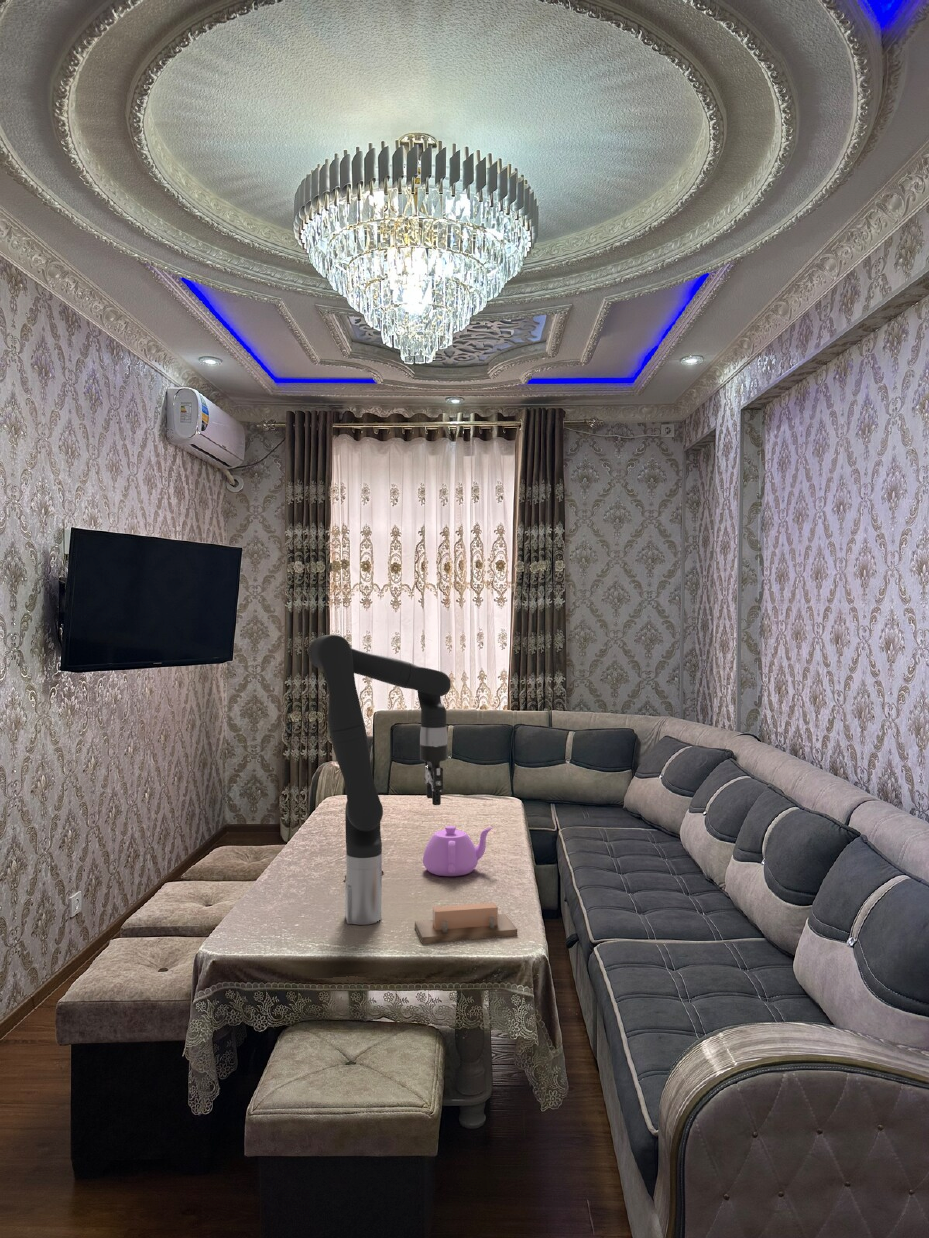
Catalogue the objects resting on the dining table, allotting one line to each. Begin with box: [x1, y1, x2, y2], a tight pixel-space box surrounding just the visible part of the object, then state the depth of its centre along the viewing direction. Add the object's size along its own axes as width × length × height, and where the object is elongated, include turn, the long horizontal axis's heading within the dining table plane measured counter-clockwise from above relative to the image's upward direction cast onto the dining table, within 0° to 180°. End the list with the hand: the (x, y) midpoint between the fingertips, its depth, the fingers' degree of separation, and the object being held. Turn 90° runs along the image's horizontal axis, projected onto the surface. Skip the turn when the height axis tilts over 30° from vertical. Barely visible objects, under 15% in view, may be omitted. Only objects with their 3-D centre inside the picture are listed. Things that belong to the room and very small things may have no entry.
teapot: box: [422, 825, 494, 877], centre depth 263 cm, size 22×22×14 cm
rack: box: [414, 913, 518, 944], centre depth 213 cm, size 24×11×4 cm, turn 103°
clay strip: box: [432, 902, 499, 930], centre depth 213 cm, size 16×4×4 cm, turn 102°
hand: (433, 801), depth 233 cm, fingers open, 8 cm apart
